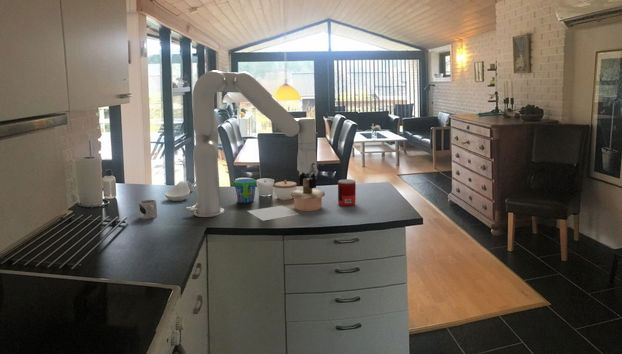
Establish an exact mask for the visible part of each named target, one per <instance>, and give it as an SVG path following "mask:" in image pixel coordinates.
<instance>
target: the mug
mask: <svg viewBox="0 0 622 354" xmlns="http://www.w3.org/2000/svg"><path fill="white" fill-rule="evenodd" d="M138 206H139V217H140V219H141V220H152V219H156V218H158V209H157V201H156V199H145V200H141V201H139V202H138Z"/></svg>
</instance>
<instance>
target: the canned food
mask: <svg viewBox="0 0 622 354" xmlns="http://www.w3.org/2000/svg"><path fill="white" fill-rule="evenodd" d="M356 194H357V193H356V180H355V179H351V178H349V179H347V178H345V179H339V180H338V181H337V202H338V206H341V207H353V206H355V205H356Z"/></svg>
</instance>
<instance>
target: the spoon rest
mask: <svg viewBox="0 0 622 354" xmlns="http://www.w3.org/2000/svg"><path fill="white" fill-rule="evenodd" d="M192 192H194V190H193V186H192V183H191V182H190V181H189V180H187V181H186V180H180V181H179V182H178V183H177V184H176V185H173V186H172V187H171V188H170V189H168V190H167V191H165V193H164V196H165V198H166V199H168V200H169V201H172V202H182V201H184V200H186V199H187V198H188V197H189V196H190V194H191V193H192Z"/></svg>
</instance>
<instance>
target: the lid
mask: <svg viewBox="0 0 622 354" xmlns="http://www.w3.org/2000/svg"><path fill="white" fill-rule="evenodd" d="M309 179H310V177H309V178H307V177H306V179H303V185H302V189H296V190H295V191H292V192H291V196H292V197H293V198H299V199H315V198H320V197H322V198H323V197H325V195H326V193H325V191H324V190H322V189H316V188H311V189H310V188H309Z"/></svg>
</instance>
